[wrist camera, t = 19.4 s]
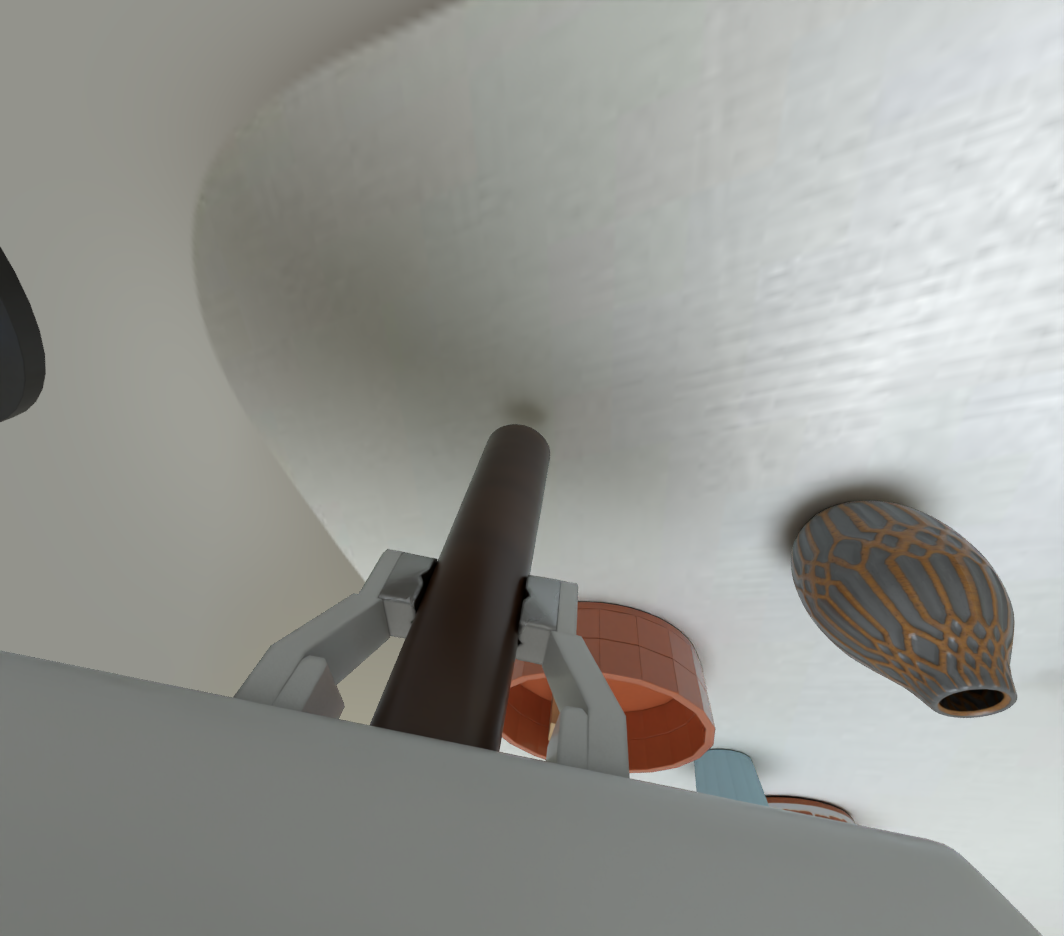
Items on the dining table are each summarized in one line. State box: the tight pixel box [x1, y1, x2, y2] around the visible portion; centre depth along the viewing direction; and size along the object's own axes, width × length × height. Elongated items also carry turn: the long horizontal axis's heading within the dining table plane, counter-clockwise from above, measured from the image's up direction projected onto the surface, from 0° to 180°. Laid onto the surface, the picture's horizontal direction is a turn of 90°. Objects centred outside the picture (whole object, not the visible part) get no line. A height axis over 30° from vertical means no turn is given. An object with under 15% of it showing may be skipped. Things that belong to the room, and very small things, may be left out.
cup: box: [694, 750, 769, 807], centre depth 35 cm, size 8×8×10 cm
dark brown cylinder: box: [370, 424, 550, 752], centre depth 12 cm, size 3×3×13 cm
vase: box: [791, 501, 1017, 718], centre depth 17 cm, size 7×7×9 cm
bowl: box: [502, 602, 715, 773], centre depth 30 cm, size 16×16×5 cm
